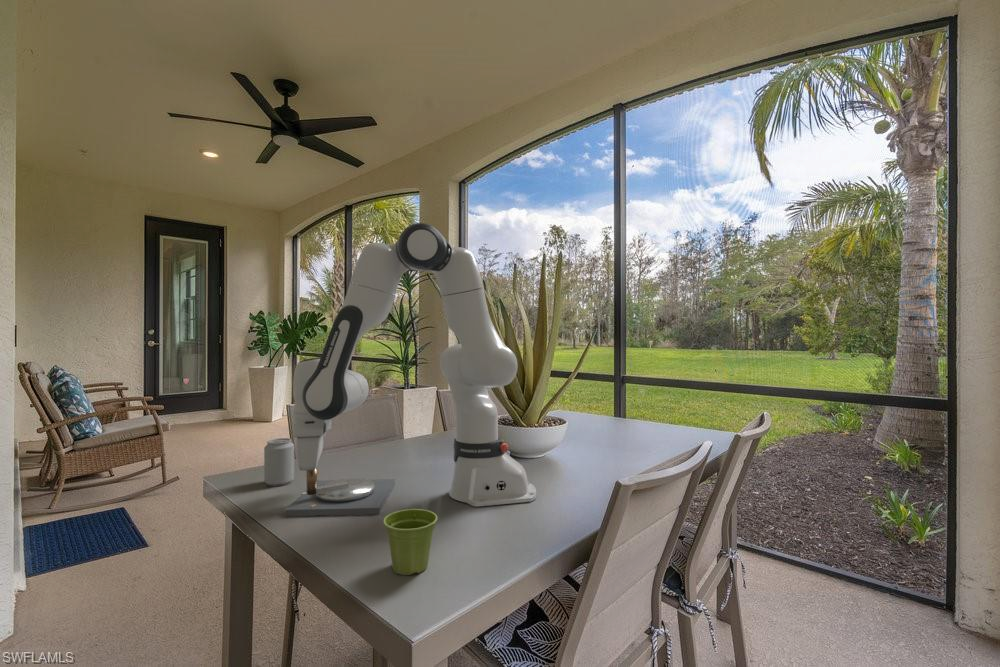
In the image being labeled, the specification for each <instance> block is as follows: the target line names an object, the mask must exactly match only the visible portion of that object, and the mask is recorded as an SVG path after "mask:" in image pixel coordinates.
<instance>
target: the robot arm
mask: <svg viewBox="0 0 1000 667" xmlns="http://www.w3.org/2000/svg"><path fill="white" fill-rule="evenodd" d="M427 271H430V272H431V273H432V274H433V275H434V276H435V278H436V280H437V283H438V288H439V293H440V299H441V302H442V304H441V305H442V306H443V307H442V308H443V313H444V318H445V321H446V325H447V327H448V328H449V329H450V330H451V331H452V332H453V333H454V335H455V336H456V338H457V340H458V341H459V343H458V344H454V345H451V346H448V347H447V348H445V349H444V350H443V352H442V353H441V355H440V356H439V357H440V358H439V364H438V365H439V368H440V372H441V373H442V375H443V377H444V378H445V380H446V381H447V383H448V386H449V387H448V388H449V390H450V393H451V397H452V400H453V406H454V413H455V414H454V420H455V423H454V424H455V438H453V439H454V441H453V443H452V444H453V446H452V447H453V453H452V454H453V455H452V456H453V461H454V467H453V475H452V481H451V484H450V485H451V486H450V489H449V491H448V492H449V493H448V496H449V497H451V499H454V500H456V501H459V502H462V503H466V504H469V505H470V506H471V507H486V506H488V507H489V506H499V505H507V504H509V505H510V504H518V503H519V504H521V503H531V502H534V500H535V499H536V498H537V489H536V487H535V485H534V484H532V483H531V482H529V481H528V476H527V472H526V470H525V468H524V466H523V465H522V464H521V463H519V462H518V461H517V460H516V459H514V458H513V457H511V456H510V455H509V454H507V452H508V451H509V445H508V443H506V441H505V440H504V439H503V438H502V439H501V438H500V437H499V411H498V408H497V405H496V403H494V402H493V399H491V396H490V395H489V391H488V389H494V388H501V387H504V386H508V385H510V384H511V383H512V382H513V381H514V380H515V378H516V376H517V373H518V366H519V365H518V359H517V357H516V354H515V353H514V351H513V350H511V348H509V347H508V346H507V345H506V344H505V343H504V342H503V340H502V338H500V335H499V333H498V331H497V330H496V328H495V325H494V323H493V321H492V319H491V316H490V312H489V307H488V302H487V298H486V293H485V288H484V284H483V279H482V276H481V271H480V269H479V266H478V263H477V260H476V258H475V255H474V253H473V252H472V251H471V250H470V249H468V248H467V247H466V248H465V247H462V246H461V247H459V246H456V247H455V246H453V247H452V244H450V243H449V242H448V241H447V239H446V238H445V236H444V235H443V234H442V233H441V232H440V231H439V230H438V229H437V228H436V227H434V226H433V225H430V224H429V223H425V222H416V223H412V224H410V225H408V226H406V227H405V228H404V229H403V231H401V234H400V235H399V237H398V239H397V240H396V242H394V243H393V244H388V243H385V242H372V243H369V244H367V245H365V246H364V247H363V249H362V251H361V253H360V255H359V257H358V258H357V261H356V263H355V267H354V269H353V272H352V275H351V278H350V282H349V285H348V288H347V292H346V295H345V298H344V300H343V303H342V305H341V308H340V309H339V311H338V313H337V315H336V316H335V319H334V321H333V324H332V326H331V328H330V331H329V333H328V336H327V338H326V339H327V340H326V342H325V344H324V346H323V350H322V352H321V354H320V355H321V356H317V357H310V358H306V359H303V360H300V361H298V362H297V363H296V365H295V368H294V374H293V382H292V383H293V384H292V396H293V398H294V405H293V406H294V407H293V409H292V431H293V437H294V438H296V454H297V463H298V464H297V465H298V468H299V470H300V471H303V472H304V471H306V472H307V470H315V469H316V467H317V468H318V464H319V461H320V458H321V455H322V452H323V450H324V437H325V436H326V435H327V432H328V431H330V430H331V429H332V419H334V418H336V417H337V416H340V415H342V414H343V413H347V412H349V411H352V410H353V409H357V408H358V407H360V406H362V405H364V404H365V403H366V401H367V400H368V399H369V398H368V397H369V396H370V384H369V381H368V380H367V378H366V377H365V375H363V374H362V373H360V372H357V371H353V370H350V369H349V366H350V363H351V361H352V358H353V355H354V353H355V352H354V351H355V349H356V347H357V344H358V343H359V341H360V339H361V338H362V337H363V336H364V335H365V334H366V333H368V332H369V331H370V330H372V329H373V328H375V327H376V326H378V325H380V324H383V322H384V321H385V320H386V319H388V316H389V314H390V312H391V310H392V308H393V305H394V302H395V299H396V294H397V291H398V286H399V283H400V281H401V279H402V277H403V275H404V274H405V273H407V272H413V273H418V272H421V273H422V272H427Z"/></svg>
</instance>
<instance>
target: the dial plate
mask: <svg viewBox="0 0 1000 667" xmlns="http://www.w3.org/2000/svg"><path fill="white" fill-rule="evenodd" d="M335 480H336V479H335ZM335 480H334V479H331V480H330V479H329V480H326V479H325V480H317V487H319V486H320V485H322V484H324V483H327V482H330V481H335ZM369 480H370V481H372V482H373V483H374V492H373V493H372V494H370V495H368V496H366V497H364V498H361V499H357V500H352V501H345V502H327V501H322V500H319V499H317V498H316V494H314V495H307V489H306V490H305V491H304V492H302V493H301V495H300V496H299V497H298V498H297V499H296V500H295V501H293V503H291V504H290V505H289V506H288V507H287V508H286V509H285V517H321V515H330V516H361V515H362V516H364V515H365V516H367V515H368V516H369V515H370V514H371V515H372V514H373V516H374V514H376V515H380V513H381V512H382V510H383V508H384V506H385V505H386V503H387V501H388V499H389V497H390V495H391V493H392V491H393V489H394V487H395V486H396V479H395V478H394V479H393V478H392V479H382V478H381V479H369ZM315 515H316V516H315ZM318 515H320V516H318ZM371 515H370V516H371Z"/></svg>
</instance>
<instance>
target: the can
mask: <svg viewBox="0 0 1000 667" xmlns="http://www.w3.org/2000/svg"><path fill="white" fill-rule="evenodd" d="M263 448H264V449H263V450H264V457H263V458H264V459H263V461H264V462H263V463H264V465H263V468H264V469H263V473H264V475H263V476H264V478H263V479H264V483H265V484H266V485H267V486H269V487H281V486H280V485H282V486H285V484H286V485H288V484H287V483H289V482H290V483H291V482H293V481H294V479H295V444H294V443H293V442H292V439H291V438H289V437H281V438H280V437H279V438H273V439H269V440H267V441H266V445H264V446H263ZM290 483H289V484H290Z"/></svg>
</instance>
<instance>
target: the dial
mask: <svg viewBox="0 0 1000 667" xmlns="http://www.w3.org/2000/svg"><path fill="white" fill-rule="evenodd" d="M370 480H371V479H365V478H357V477H354V478H343V479H342V478H341V479H335V481H330V482H327V483H324V484H322V485H320V486H319V487H317V481H318V466H317V467H316V469H315V470H306V490H307V495H314V494H316V498H317V499H319V500H322V501H327V502H345V501H352V500H357V499H361V498H364V497H366V496H368V495H370V494H372V493H373V492H374V483H373V482H372V481H370Z"/></svg>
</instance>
